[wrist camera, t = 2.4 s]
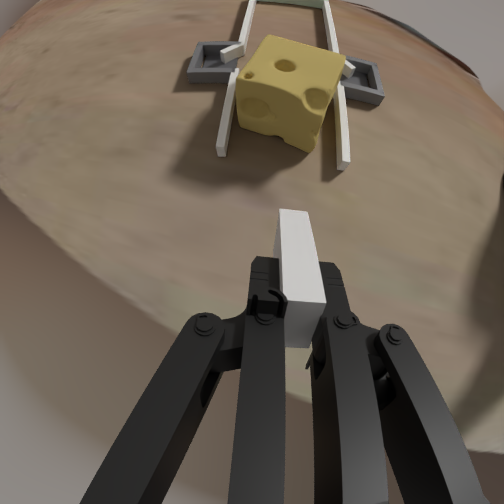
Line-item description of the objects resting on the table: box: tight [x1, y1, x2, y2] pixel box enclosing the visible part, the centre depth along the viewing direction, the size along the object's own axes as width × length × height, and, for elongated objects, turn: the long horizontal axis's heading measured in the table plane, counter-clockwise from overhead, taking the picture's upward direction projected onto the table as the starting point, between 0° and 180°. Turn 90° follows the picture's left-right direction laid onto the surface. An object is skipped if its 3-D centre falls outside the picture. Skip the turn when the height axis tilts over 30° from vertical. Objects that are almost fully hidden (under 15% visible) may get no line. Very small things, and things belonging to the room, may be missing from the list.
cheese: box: [235, 34, 346, 153], centre depth 29 cm, size 10×11×10 cm
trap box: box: [186, 0, 385, 171], centre depth 35 cm, size 29×43×2 cm
